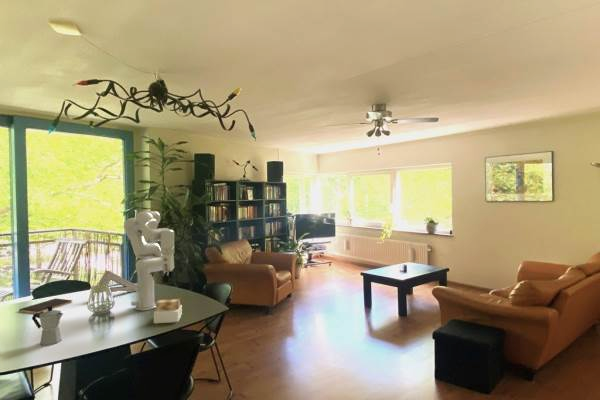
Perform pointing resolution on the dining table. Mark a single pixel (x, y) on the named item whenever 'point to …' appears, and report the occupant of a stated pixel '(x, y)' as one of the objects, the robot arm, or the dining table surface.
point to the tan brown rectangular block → (168, 304)
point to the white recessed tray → (167, 315)
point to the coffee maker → (49, 326)
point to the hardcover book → (45, 305)
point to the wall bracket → (125, 283)
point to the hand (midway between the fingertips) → (167, 280)
